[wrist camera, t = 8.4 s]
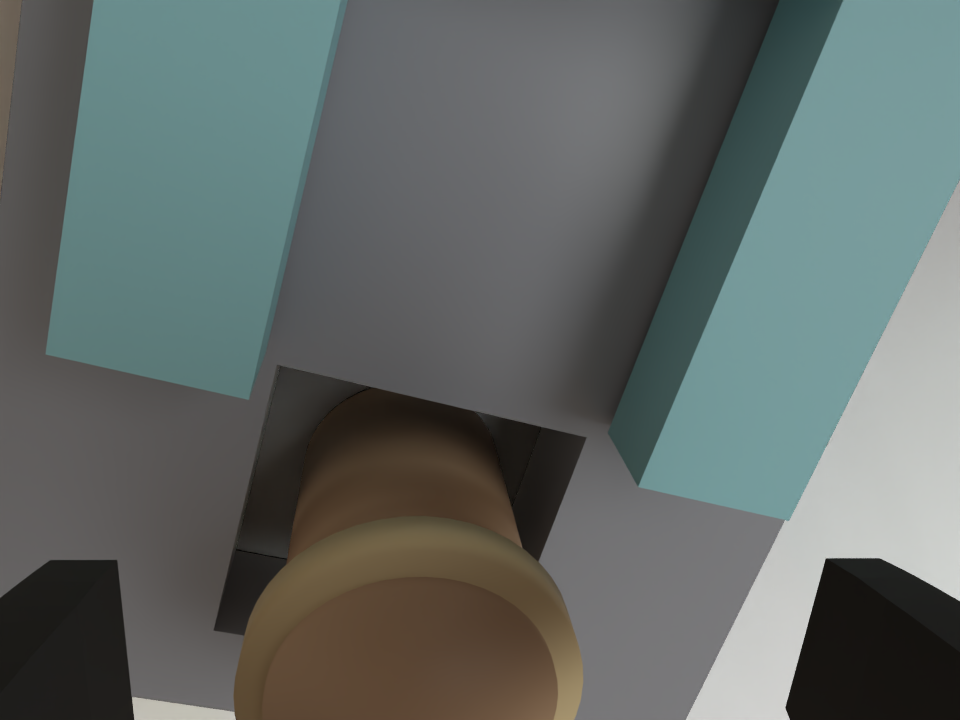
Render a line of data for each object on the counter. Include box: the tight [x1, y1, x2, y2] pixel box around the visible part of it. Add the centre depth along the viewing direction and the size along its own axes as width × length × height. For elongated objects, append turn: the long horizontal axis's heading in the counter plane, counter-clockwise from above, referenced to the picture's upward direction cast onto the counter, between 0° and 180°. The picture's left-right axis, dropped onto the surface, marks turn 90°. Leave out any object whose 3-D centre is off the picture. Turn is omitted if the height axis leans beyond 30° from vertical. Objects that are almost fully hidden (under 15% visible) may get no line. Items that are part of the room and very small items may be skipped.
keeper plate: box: [46, 0, 960, 521], centre depth 11 cm, size 11×10×3 cm
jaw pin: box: [233, 388, 583, 720], centre depth 14 cm, size 5×5×6 cm
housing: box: [0, 0, 785, 720], centre depth 14 cm, size 14×18×2 cm
